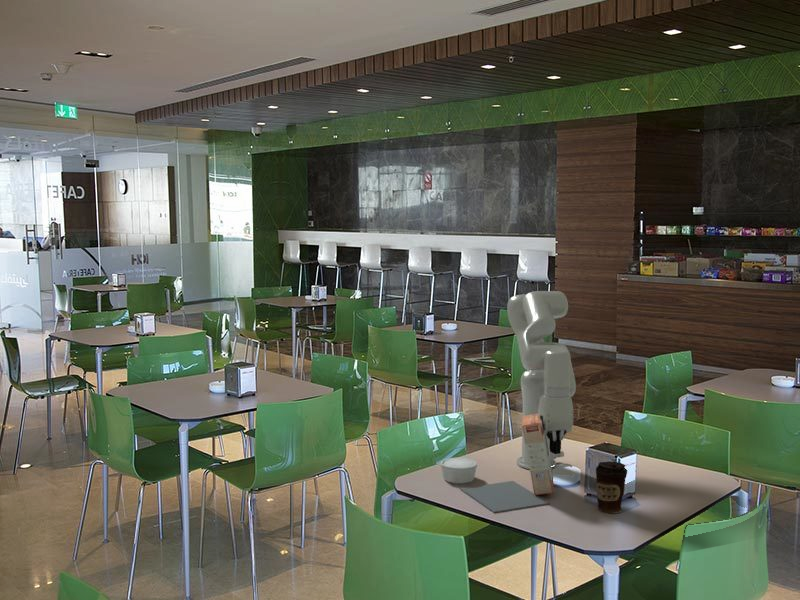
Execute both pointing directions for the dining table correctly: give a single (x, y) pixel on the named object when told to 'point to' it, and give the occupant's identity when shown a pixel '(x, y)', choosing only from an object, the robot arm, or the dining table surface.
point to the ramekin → (458, 470)
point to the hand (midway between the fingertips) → (555, 452)
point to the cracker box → (537, 455)
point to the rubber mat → (504, 496)
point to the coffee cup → (610, 486)
